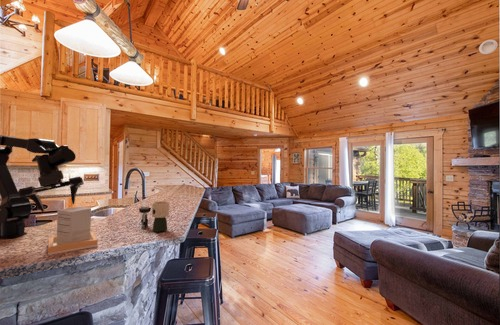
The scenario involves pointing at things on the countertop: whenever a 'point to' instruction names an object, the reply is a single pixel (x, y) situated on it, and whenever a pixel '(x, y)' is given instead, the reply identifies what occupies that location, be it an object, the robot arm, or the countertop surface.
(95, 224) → the countertop surface
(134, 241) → the countertop surface
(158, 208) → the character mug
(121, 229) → the countertop surface
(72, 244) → the shallow wooden tray
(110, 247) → the countertop surface
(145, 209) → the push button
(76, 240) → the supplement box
